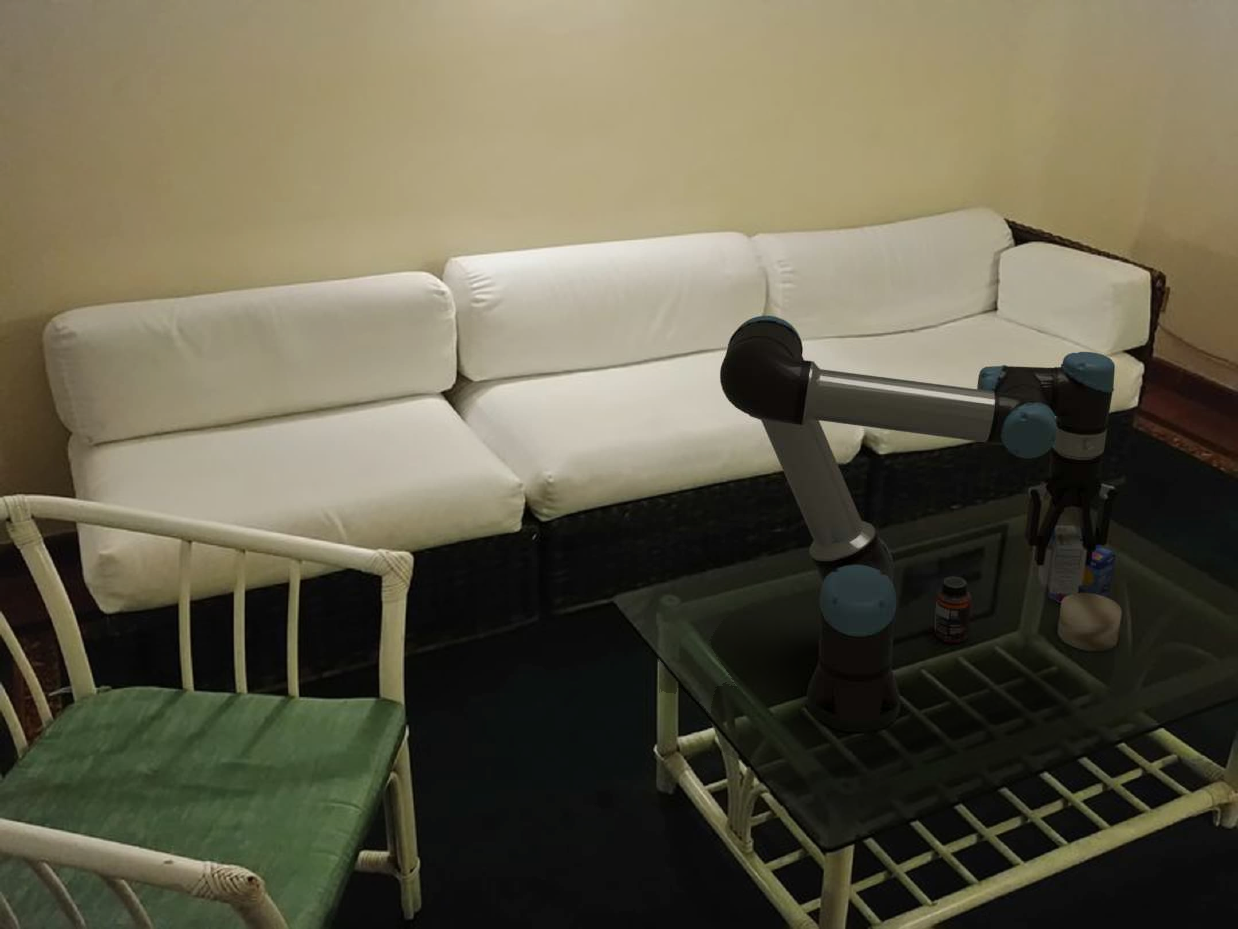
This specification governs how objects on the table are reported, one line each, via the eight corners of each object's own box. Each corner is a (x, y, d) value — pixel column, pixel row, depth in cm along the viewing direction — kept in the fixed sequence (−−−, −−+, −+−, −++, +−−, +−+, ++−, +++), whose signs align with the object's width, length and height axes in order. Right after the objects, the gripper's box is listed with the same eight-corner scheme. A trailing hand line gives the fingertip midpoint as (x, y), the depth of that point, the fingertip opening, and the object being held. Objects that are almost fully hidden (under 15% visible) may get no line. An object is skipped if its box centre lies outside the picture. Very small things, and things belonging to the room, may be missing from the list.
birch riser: (1066, 651, 199) (1070, 622, 197) (1050, 621, 208) (1054, 593, 206) (1125, 651, 198) (1129, 622, 196) (1106, 621, 207) (1111, 592, 205)
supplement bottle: (955, 624, 208) (960, 570, 204) (974, 640, 203) (980, 586, 199) (927, 630, 207) (931, 577, 202) (945, 647, 202) (950, 592, 197)
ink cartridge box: (1044, 598, 215) (1053, 530, 209) (1061, 588, 218) (1070, 521, 212) (1092, 619, 208) (1102, 549, 202) (1108, 608, 211) (1119, 539, 205)
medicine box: (1077, 595, 182) (1085, 548, 178) (1048, 593, 183) (1055, 546, 179) (1069, 571, 189) (1076, 525, 185) (1041, 569, 190) (1048, 523, 186)
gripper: (1024, 461, 173) (1009, 592, 183) (1145, 460, 172) (1123, 592, 181) (1012, 442, 180) (998, 569, 190) (1128, 441, 179) (1108, 569, 188)
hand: (1059, 580), depth 186 cm, fingers closed on medicine box, 5 cm apart
